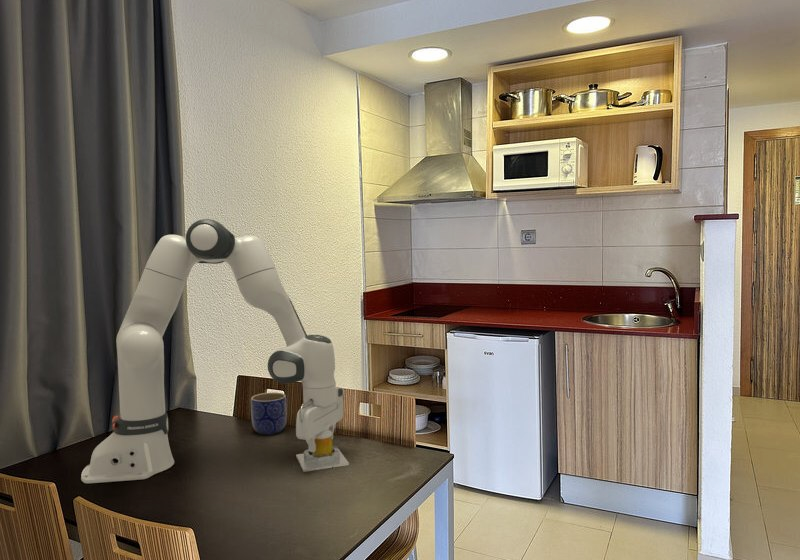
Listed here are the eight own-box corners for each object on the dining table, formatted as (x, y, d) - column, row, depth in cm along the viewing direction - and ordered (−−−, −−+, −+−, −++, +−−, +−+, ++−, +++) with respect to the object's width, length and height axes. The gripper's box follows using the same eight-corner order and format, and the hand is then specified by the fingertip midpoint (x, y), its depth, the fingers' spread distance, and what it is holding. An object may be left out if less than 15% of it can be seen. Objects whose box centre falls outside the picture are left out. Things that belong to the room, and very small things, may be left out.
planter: (294, 429, 192) (293, 394, 192) (270, 439, 183) (268, 402, 182) (269, 424, 198) (268, 390, 197) (244, 433, 189) (243, 398, 188)
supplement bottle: (335, 460, 162) (333, 425, 161) (315, 463, 160) (314, 427, 159) (330, 454, 167) (329, 419, 166) (311, 457, 165) (309, 422, 164)
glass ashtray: (303, 471, 156) (303, 462, 156) (296, 456, 167) (295, 447, 167) (348, 465, 160) (348, 455, 160) (338, 450, 171) (338, 441, 171)
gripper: (310, 406, 152) (312, 460, 153) (346, 387, 171) (348, 435, 172) (288, 404, 154) (290, 457, 155) (326, 385, 173) (328, 433, 174)
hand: (321, 445), depth 163 cm, fingers open, 8 cm apart
